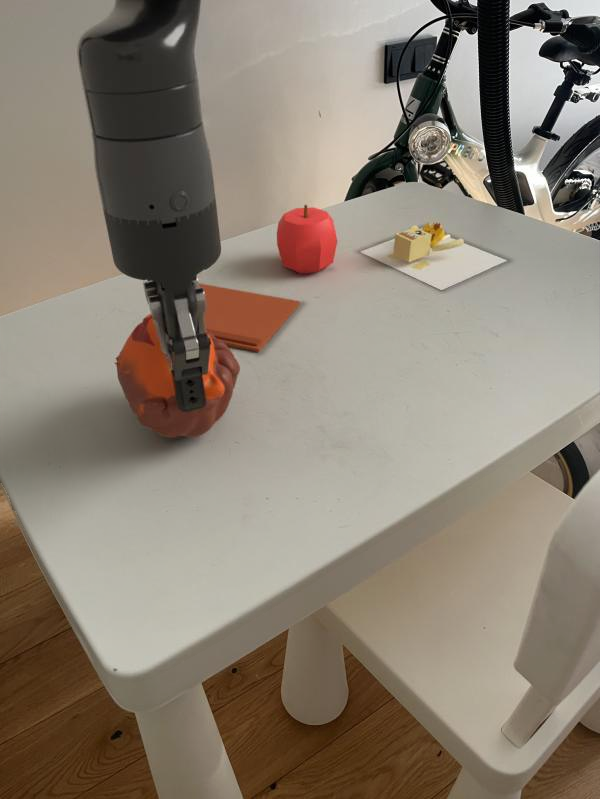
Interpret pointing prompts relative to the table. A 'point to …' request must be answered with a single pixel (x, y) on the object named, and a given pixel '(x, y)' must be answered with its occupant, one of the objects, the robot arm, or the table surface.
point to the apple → (306, 239)
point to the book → (244, 316)
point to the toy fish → (154, 387)
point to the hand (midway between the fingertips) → (191, 405)
